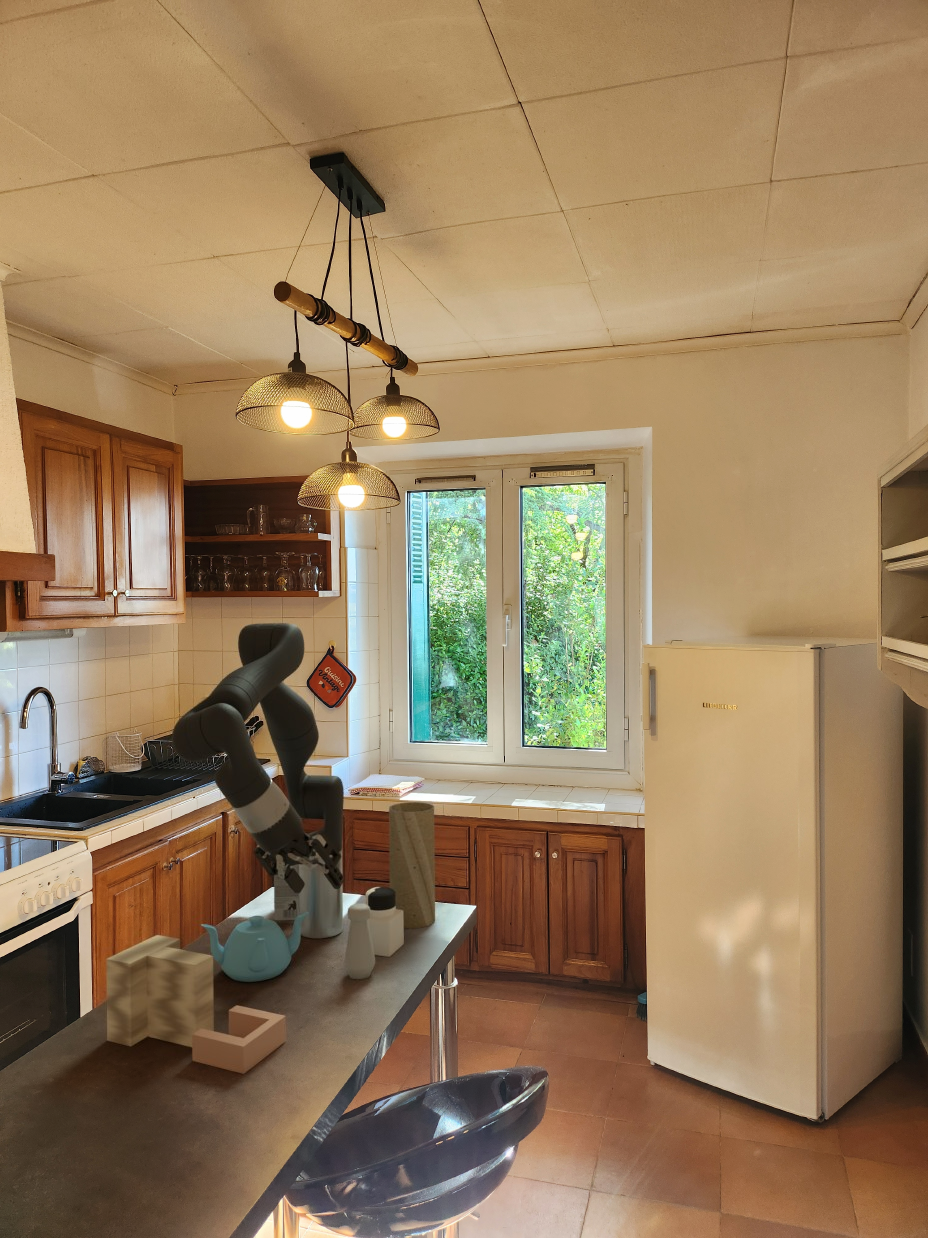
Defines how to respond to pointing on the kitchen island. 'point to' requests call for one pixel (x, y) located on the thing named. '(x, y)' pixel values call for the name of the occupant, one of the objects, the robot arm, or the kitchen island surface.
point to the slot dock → (240, 1040)
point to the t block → (159, 993)
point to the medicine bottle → (384, 921)
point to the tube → (413, 861)
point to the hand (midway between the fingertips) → (320, 887)
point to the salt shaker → (359, 943)
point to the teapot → (255, 949)
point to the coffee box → (285, 899)
